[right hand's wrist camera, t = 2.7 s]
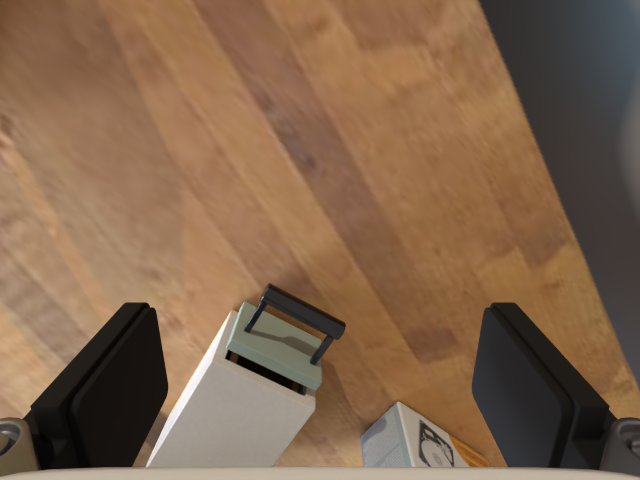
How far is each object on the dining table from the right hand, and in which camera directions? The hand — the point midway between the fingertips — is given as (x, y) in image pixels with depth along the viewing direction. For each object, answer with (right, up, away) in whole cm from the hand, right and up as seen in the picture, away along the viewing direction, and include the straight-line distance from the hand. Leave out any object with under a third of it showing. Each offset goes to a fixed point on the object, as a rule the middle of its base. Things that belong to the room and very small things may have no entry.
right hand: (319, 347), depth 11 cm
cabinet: (-9, -14, +36) cm, 39 cm away
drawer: (-6, -10, +33) cm, 35 cm away
